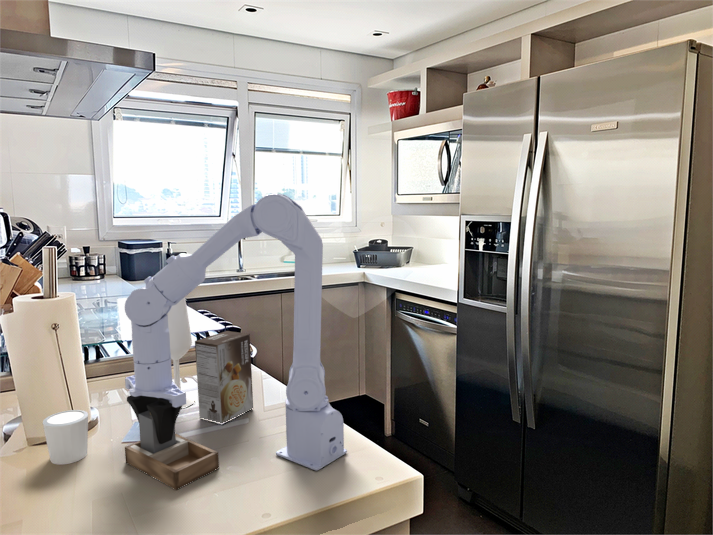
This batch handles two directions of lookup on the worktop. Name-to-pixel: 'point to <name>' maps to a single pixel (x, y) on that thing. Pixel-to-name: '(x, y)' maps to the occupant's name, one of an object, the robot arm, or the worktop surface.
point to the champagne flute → (179, 339)
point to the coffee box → (224, 375)
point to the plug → (151, 434)
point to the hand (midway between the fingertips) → (157, 437)
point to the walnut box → (174, 461)
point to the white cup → (67, 436)
